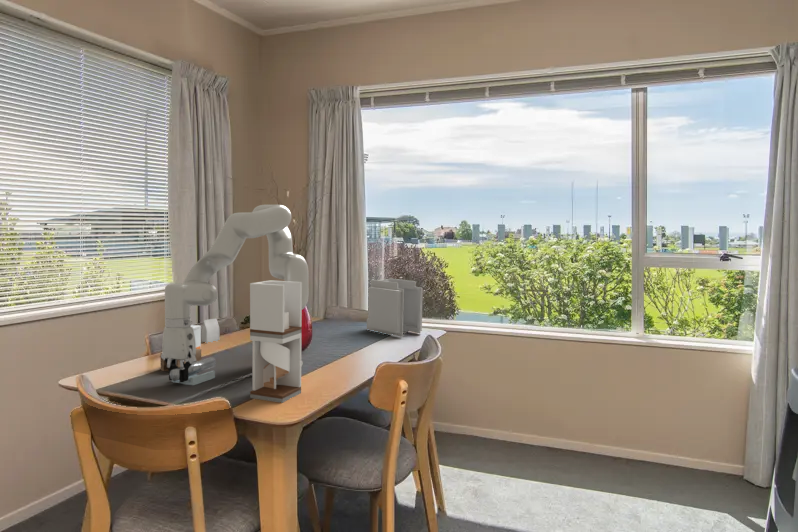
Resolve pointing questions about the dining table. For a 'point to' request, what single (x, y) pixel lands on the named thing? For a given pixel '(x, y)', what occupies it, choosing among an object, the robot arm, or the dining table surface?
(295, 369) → the spiral staircase model
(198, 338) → the skincare box
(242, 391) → the dining table surface
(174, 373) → the axle
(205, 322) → the light grey block
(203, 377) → the cradle
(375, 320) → the grey file holder
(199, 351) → the hollow wooden box
